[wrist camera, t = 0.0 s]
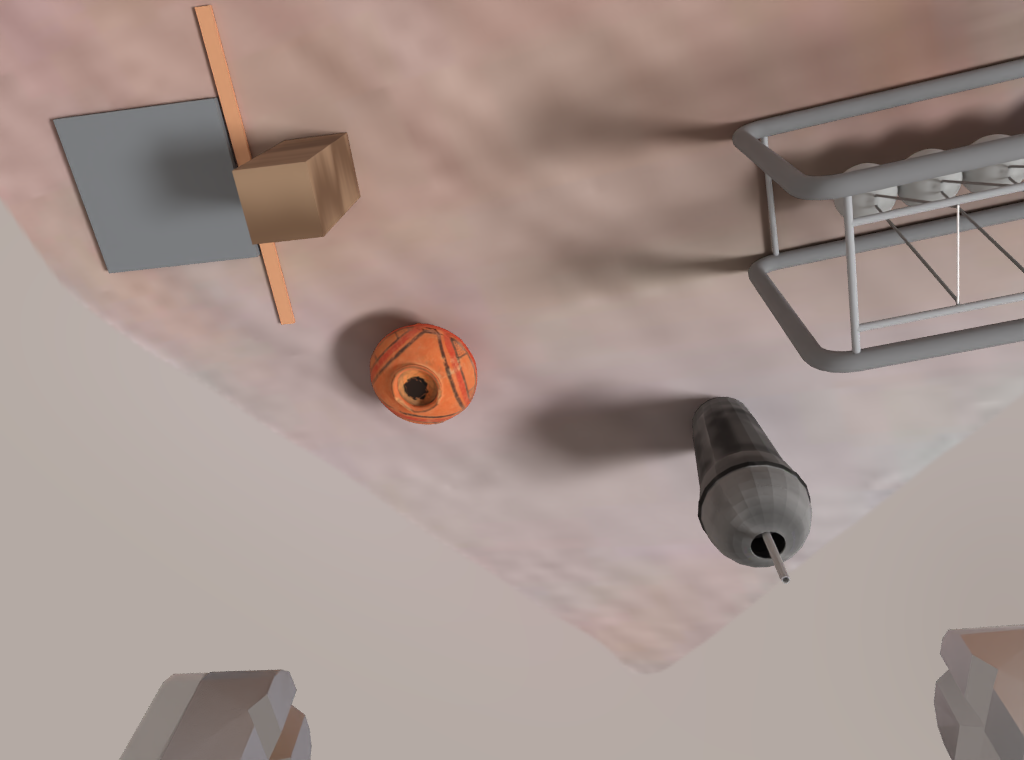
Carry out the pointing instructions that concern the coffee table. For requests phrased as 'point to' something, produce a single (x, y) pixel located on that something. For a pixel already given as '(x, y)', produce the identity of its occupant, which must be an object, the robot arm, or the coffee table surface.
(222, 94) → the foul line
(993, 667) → the robot arm
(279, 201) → the wooden square post
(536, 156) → the coffee table surface
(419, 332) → the pot
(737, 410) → the beverage cup
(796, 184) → the newton's cradle
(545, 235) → the coffee table surface
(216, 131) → the mat
